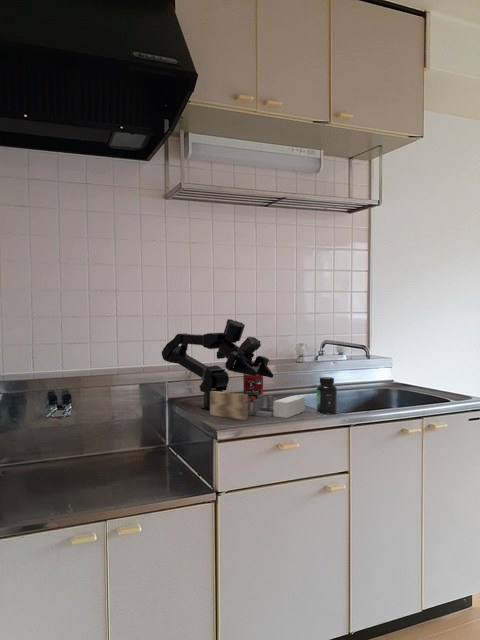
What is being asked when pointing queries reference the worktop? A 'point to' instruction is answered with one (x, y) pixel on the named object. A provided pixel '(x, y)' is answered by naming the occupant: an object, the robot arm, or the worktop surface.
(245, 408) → the door panel
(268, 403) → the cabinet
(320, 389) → the supplement bottle
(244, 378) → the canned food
